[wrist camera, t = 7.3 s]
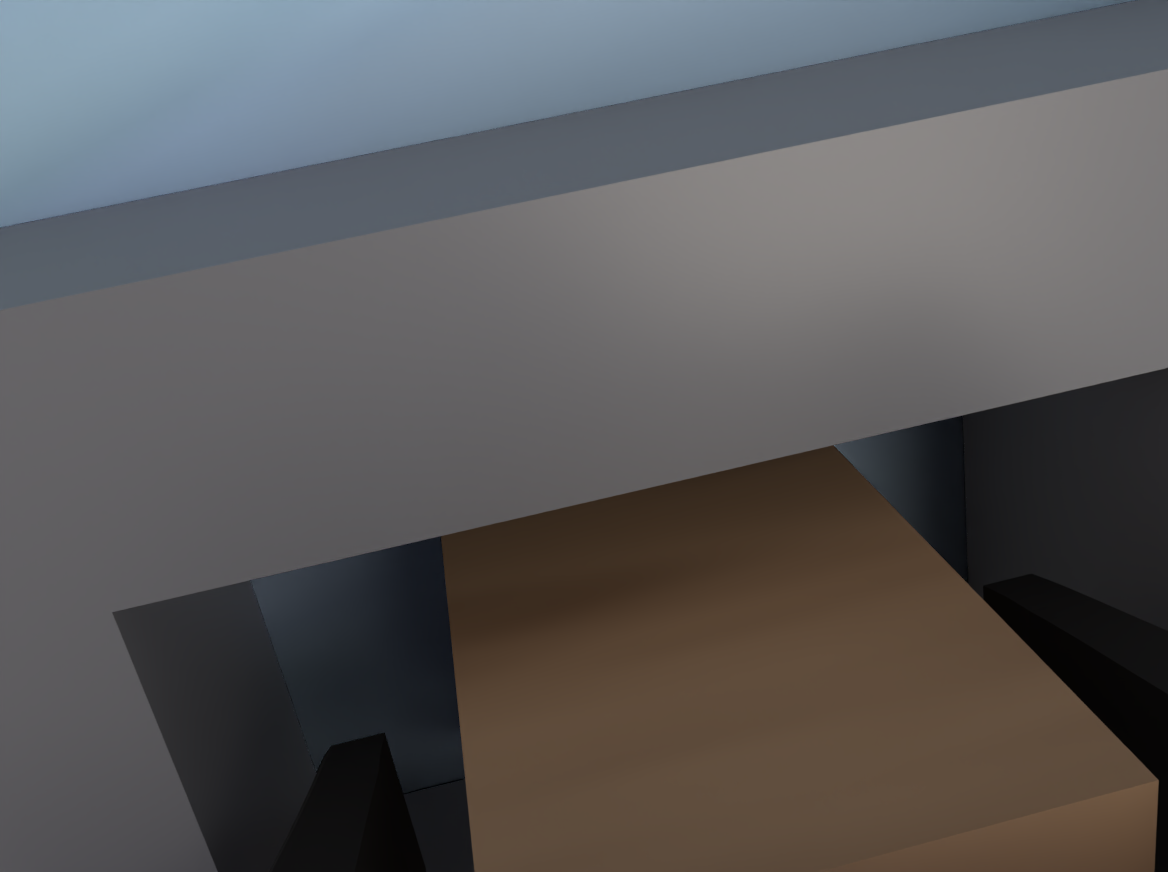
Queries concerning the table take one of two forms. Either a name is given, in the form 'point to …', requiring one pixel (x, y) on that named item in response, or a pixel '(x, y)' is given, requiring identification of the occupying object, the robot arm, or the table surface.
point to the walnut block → (766, 694)
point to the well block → (553, 383)
